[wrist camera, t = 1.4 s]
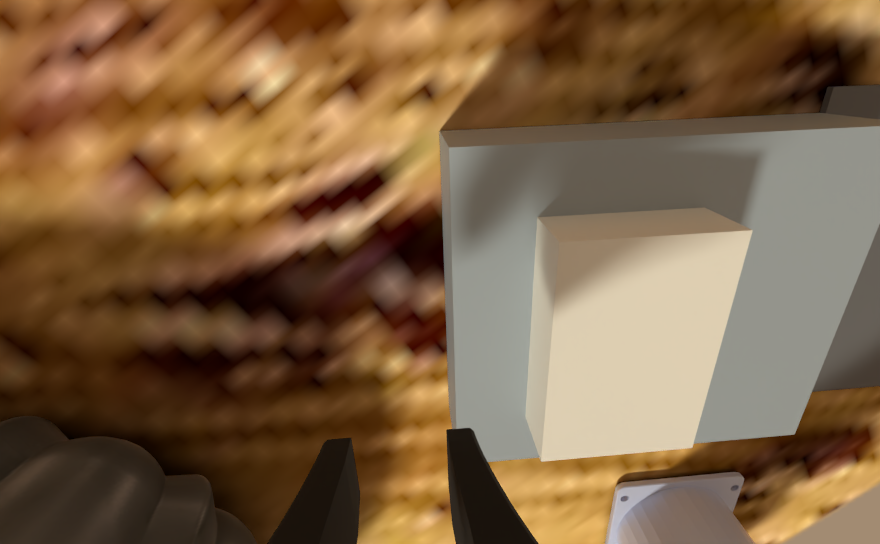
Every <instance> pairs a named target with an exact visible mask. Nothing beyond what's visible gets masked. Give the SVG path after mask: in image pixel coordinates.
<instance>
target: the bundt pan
mask: <svg viewBox="0 0 880 544" xmlns="http://www.w3.org/2000/svg"><path fill="white" fill-rule="evenodd" d="M0 544H257V542H256V540H255V538H254V537H253V535H252V533H251V532H250V530H249V529H248V528H247V527H246V526H245V525H244V524H243V523H242V521H241V520H239V519H238V518H237V517H235V516H234V515H232V514H230V513H229V512H227V511H225V510H221V509H218V508H215V506H214V499H213V493H212V488H211V484H210V482H209V481H208V479H207V478H205V477H204V476H201V475H197V474H193V475H174V476H165V474H164V472H163V470H162V468H161V467H160V465H159V464H158V462H157V461H156V459H155V458H154V457H153V456H152V455H151V454H150V453H149V452H147V451H146V450H145V449H143V448H142V447H141V446H139V445H136V444H134V443H132V442H129V441H127V440H123V439H119V438H114V437H104V436H96V437H83V438H77V439H71V440H69V439H68V438H67V437H66V436H65V435H64V434H63V433H62V432H61V430H60V429H59V428H58V427H57V426H56V425H55V424H53V423H52V422H51V421H49V420H47V419H44V418H41V417H37V416H21V417H15V418H11V419H8V420H5V421H2V422H0Z"/></svg>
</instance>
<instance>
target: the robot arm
mask: <svg viewBox="0 0 880 544" xmlns="http://www.w3.org/2000/svg"><path fill="white" fill-rule="evenodd" d="M447 454H448V480H449V493H450V504H451V514H452V524H453V530H454V535H455V541H456V544H538V542H537V541H536V539H535V538H534V537H533V535H532V534H531V532H530V531H529V530H528V528H527V527H526V525H525V524H524V522H523V521H522V519H521V518H520V516H519V515H518V513H517V512H516V510H515V509H514V507H513V505H512V504H511V502H510V501H509V499H508V497H507V496H506V494H505V492H504V491H503V489H502V487H501V486H500V484H499V482H498V481H497V479H496V477H495V475H494V473H493V472H492V470H491V468H490V466H489V464H488V462H487V460H486V458H485V456H484V454H483V452H482V450H481V448H480V445H479V443H478V441H477V438H476V436H475V433H474V431H473V430H472V429H471V428H461V429H449V430H447ZM743 483H744V478H743V476H742V475H741V474H740V473H739V472H727V473H716V474H706V475H695V476H684V477H673V478H663V479H652V480H641V481H631V482H622V483H620V484H618V485H617V486H616V488H615V493H614V498H613V503H612V509H611V514H610V519H609V525H608V530H607V535H606V541H605V544H755V542H754V541H753V540H752V538H751V537H750V536H749V534H748V533H747V532H746V530H745V529H744V528H743V526H742V525H741V524H740V522H739V521H738V519H737V518H736V517H735V515H734V514H733V510H734V508H735V505H736V502H737V499H738V496H739V494H740V491H741V488H742V485H743ZM359 504H360V490H359V484H358V477H357V471H356V465H355V459H354V453H353V446H352V440H351V438H343V439H331V440H327V441H326V442H325V443H324V444H323V446H322V448H321V450H320V453H319V455H318V457H317V459H316V461H315V463H314V465H313V467H312V469H311V471H310V472H309V474H308V476H307V478H306V480H305V482H304V484H303V485H302V487H301V489H300V491H299V493H298V494H297V496H296V498H295V499H294V501H293V503H292V505H291V506H290V508H289V510H288V511H287V513H286V515H285V516H284V518H283V520H282V521H281V523H280V525H279V526H278V528H277V529H276V531H275V532H274V534H273V535H272V537H271V538H270V540H269V542H268V543H267V544H357V537H358V524H359Z"/></svg>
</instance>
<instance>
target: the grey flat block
mask: <svg viewBox="0 0 880 544" xmlns="http://www.w3.org/2000/svg"><path fill="white" fill-rule="evenodd" d="M439 132H440V161H441V190H442V218H443V247H444V276H445V305H446V333H447V362H448V391H449V408H450V415H451V422H452V429H461V428H471V429H472V430H473V431H474V433H475V436H476V438H477V441H478V443H479V445H480V448H481V450H482V452H483V454H484V456H485V458H486V460H487V462H493V461H504V460H515V459H526V458H538V457H539V454H538V451H537V448H536V446H535V443H534V440H533V437H532V434H531V431H530V429H529V426H528V423H527V420H526V417H525V415H526V398H527V381H528V364H529V347H530V331H531V314H532V297H533V280H534V264H535V247H536V230H537V217H550V216H567V215H584V214H601V213H618V212H635V211H652V210H669V209H686V208H702V207H705V208H707V209H709V210H711V211H713V212H715V213H717V214H720V215H722V216H724V217H726V218H728V219H730V220H732V221H734V222H737V223H739V224H741V225H743V226H745V227H747V228H749V229H751V230H753V231H752V235H751V239H750V242H749V246H748V249H747V253H746V257H745V260H744V264H743V267H742V271H741V275H740V278H739V282H738V285H737V289H736V293H735V296H734V300H733V303H732V307H731V310H730V314H729V318H728V321H727V325H726V328H725V332H724V336H723V339H722V343H721V346H720V350H719V354H718V357H717V361H716V364H715V368H714V372H713V375H712V379H711V382H710V386H709V390H708V393H707V397H706V400H705V404H704V408H703V411H702V415H701V418H700V422H699V426H698V429H697V433H696V436H695V440H694V443H706V442H717V441H728V440H739V439H750V438H762V437H773V436H784V435H795V432H796V430H797V427H798V425H799V422H800V420H801V417H802V415H803V413H804V410H805V408H806V405H807V403H808V400H809V398H810V395H811V393H812V390H813V388H814V385H815V383H816V380H817V378H818V375H819V373H820V370H821V368H822V365H823V363H824V360H825V358H826V356H827V353H828V351H829V348H830V346H831V343H832V341H833V338H834V336H835V333H836V331H837V328H838V326H839V323H840V321H841V318H842V316H843V313H844V311H845V308H846V306H847V304H848V301H849V299H850V296H851V294H852V291H853V289H854V286H855V284H856V281H857V279H858V276H859V274H860V271H861V269H862V266H863V264H864V261H865V259H866V256H867V254H868V251H869V249H870V247H871V244H872V242H873V239H874V237H875V234H876V232H877V229H878V227H879V224H880V120H879V119H870V118H862V117H853V116H844V115H835V114H827V113H803V114H782V115H761V116H740V117H719V118H698V119H677V120H656V121H635V122H614V123H593V124H572V125H551V126H531V127H510V128H489V129H468V130H447V131H439Z"/></svg>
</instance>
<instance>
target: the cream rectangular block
mask: <svg viewBox="0 0 880 544" xmlns="http://www.w3.org/2000/svg"><path fill="white" fill-rule="evenodd" d="M752 231H753V230H751V229H749V228H747V227H745V226H743V225H741V224H739V223H737V222H734V221H732V220H730V219H728V218H726V217H724V216H722V215H720V214H717V213H715V212H713V211H711V210H709V209H707V208H705V207H702V208H686V209H669V210H652V211H635V212H618V213H601V214H584V215H567V216H550V217H537V230H536V247H535V264H534V280H533V297H532V314H531V331H530V347H529V364H528V381H527V398H526V415H525V417H526V420H527V423H528V426H529V429H530V431H531V434H532V437H533V440H534V443H535V446H536V448H537V451H538V454H539V457H540V460H541V462H542V461H553V460H564V459H575V458H586V457H597V456H608V455H619V454H631V453H642V452H653V451H664V450H675V449H686V448H692V447H693V444H694V440H695V436H696V433H697V429H698V426H699V422H700V418H701V415H702V411H703V408H704V404H705V400H706V397H707V393H708V390H709V386H710V382H711V379H712V375H713V372H714V368H715V364H716V361H717V357H718V354H719V350H720V346H721V343H722V339H723V336H724V332H725V328H726V325H727V321H728V318H729V314H730V310H731V307H732V303H733V300H734V296H735V293H736V289H737V285H738V282H739V278H740V275H741V271H742V267H743V264H744V260H745V257H746V253H747V249H748V246H749V242H750V239H751V235H752Z"/></svg>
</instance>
